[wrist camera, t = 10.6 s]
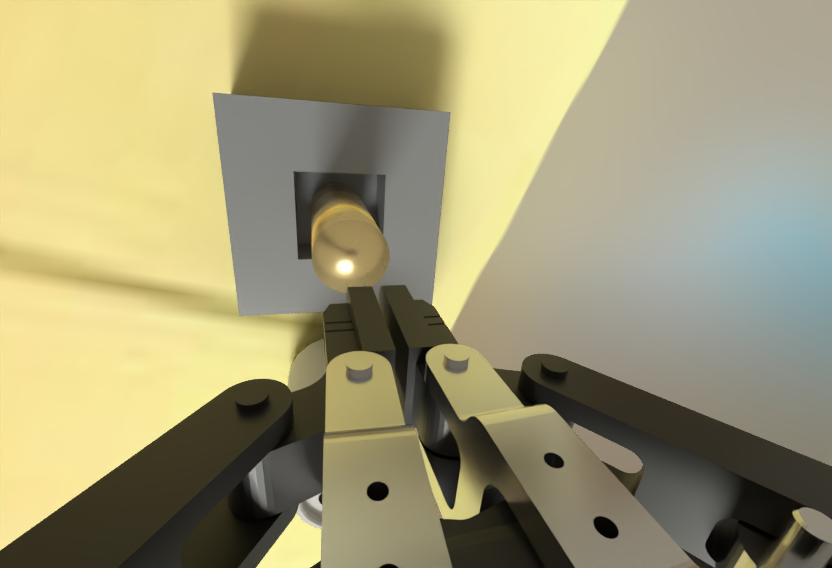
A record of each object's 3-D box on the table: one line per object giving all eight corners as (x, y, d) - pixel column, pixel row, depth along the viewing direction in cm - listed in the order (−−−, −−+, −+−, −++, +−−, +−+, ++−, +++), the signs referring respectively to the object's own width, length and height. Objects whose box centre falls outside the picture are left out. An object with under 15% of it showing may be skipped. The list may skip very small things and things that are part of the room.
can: (275, 395, 32) (260, 538, 21) (308, 318, 30) (309, 433, 19) (360, 412, 35) (384, 545, 24) (395, 343, 33) (437, 455, 22)
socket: (230, 96, 23) (212, 92, 19) (425, 111, 26) (450, 112, 22) (250, 283, 28) (239, 316, 23) (413, 277, 31) (431, 305, 26)
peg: (310, 182, 24) (310, 219, 15) (361, 183, 25) (391, 219, 16) (312, 232, 25) (313, 294, 16) (361, 232, 26) (388, 291, 17)
